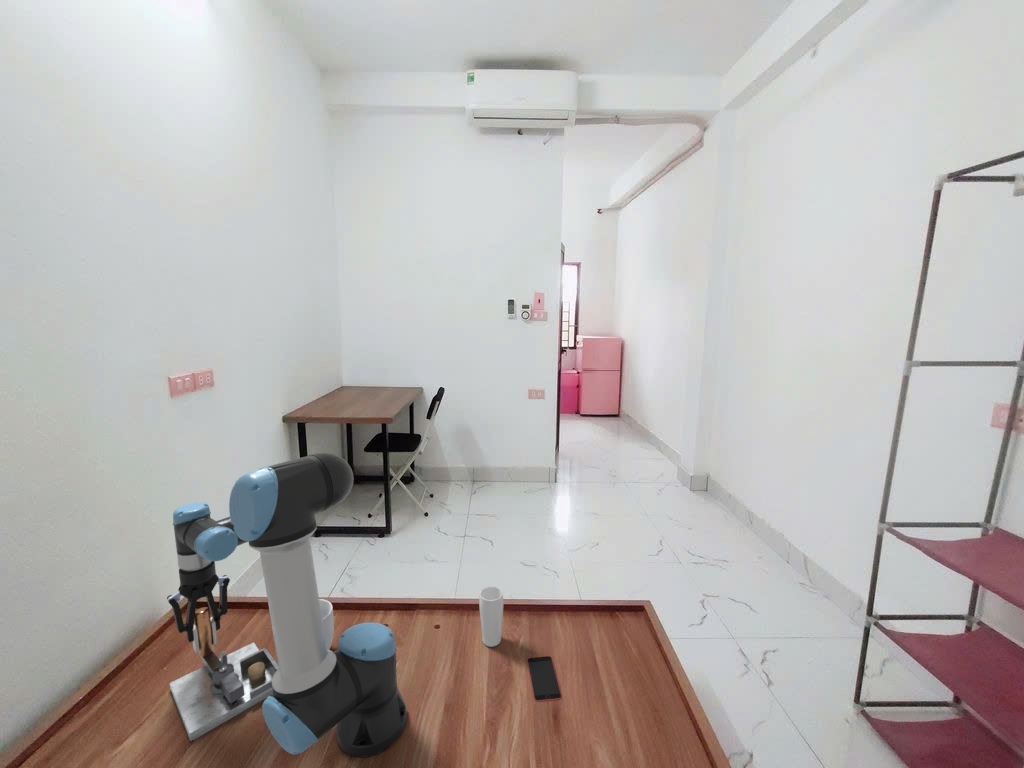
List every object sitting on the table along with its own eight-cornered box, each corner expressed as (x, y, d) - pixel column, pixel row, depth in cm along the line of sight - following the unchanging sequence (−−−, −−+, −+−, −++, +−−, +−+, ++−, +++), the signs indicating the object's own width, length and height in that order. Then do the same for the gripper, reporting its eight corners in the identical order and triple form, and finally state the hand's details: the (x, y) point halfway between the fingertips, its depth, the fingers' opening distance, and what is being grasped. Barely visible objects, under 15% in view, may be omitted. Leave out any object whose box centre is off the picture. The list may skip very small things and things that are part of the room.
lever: (247, 693, 107) (242, 642, 105) (227, 705, 104) (220, 653, 102) (214, 650, 121) (209, 604, 119) (195, 660, 117) (189, 612, 115)
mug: (343, 668, 118) (340, 623, 116) (297, 687, 112) (293, 640, 110) (331, 634, 131) (328, 593, 129) (289, 650, 125) (285, 607, 123)
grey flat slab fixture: (281, 689, 112) (279, 667, 111) (190, 741, 98) (187, 717, 97) (254, 648, 125) (252, 629, 124) (170, 690, 112) (167, 668, 111)
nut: (268, 677, 113) (267, 666, 112) (253, 687, 110) (251, 675, 109) (261, 670, 115) (260, 659, 114) (246, 679, 112) (245, 668, 112)
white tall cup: (508, 638, 129) (507, 590, 127) (494, 653, 123) (494, 603, 121) (488, 629, 133) (488, 583, 130) (475, 643, 127) (474, 595, 125)
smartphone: (534, 701, 108) (526, 657, 122) (534, 703, 108) (526, 659, 122) (562, 698, 109) (551, 655, 122) (562, 700, 109) (551, 657, 122)
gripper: (228, 546, 123) (235, 623, 126) (153, 570, 111) (163, 655, 114) (237, 556, 118) (244, 636, 121) (159, 583, 106) (170, 671, 109)
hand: (205, 645), depth 118 cm, fingers closed on lever, 3 cm apart
